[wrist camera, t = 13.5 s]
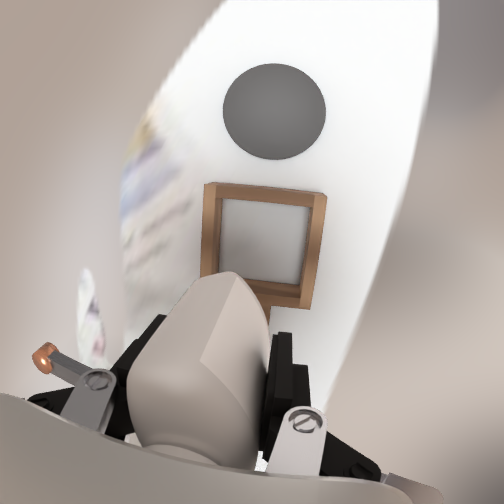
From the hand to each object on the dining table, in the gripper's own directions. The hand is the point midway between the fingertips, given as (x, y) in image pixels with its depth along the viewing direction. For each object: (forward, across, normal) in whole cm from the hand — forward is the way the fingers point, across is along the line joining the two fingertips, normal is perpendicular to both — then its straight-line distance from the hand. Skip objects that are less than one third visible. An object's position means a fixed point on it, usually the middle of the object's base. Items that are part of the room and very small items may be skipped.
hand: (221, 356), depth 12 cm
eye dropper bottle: (+3, 0, 0) cm, 3 cm away
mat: (+17, 0, -13) cm, 21 cm away
